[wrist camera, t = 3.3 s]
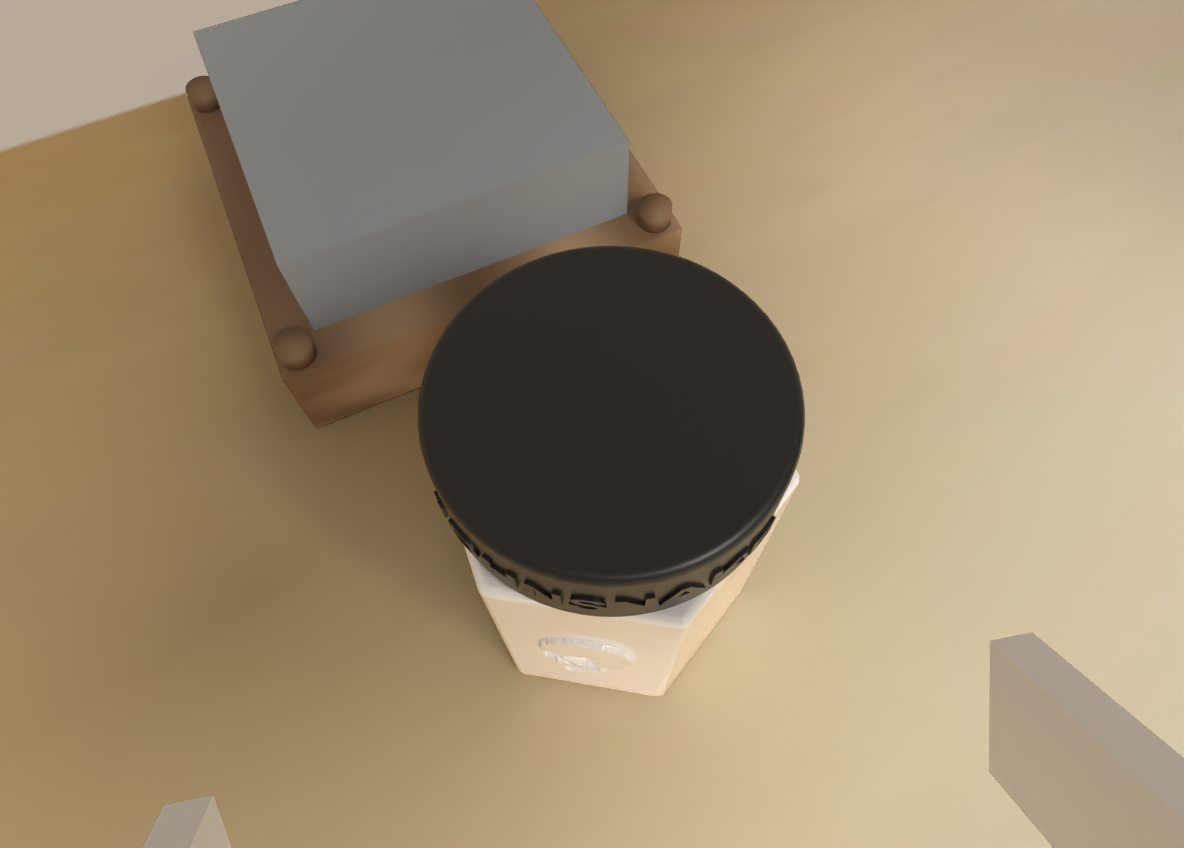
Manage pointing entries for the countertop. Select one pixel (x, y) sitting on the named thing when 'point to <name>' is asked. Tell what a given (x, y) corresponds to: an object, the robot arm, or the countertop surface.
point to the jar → (611, 456)
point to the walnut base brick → (396, 329)
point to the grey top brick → (410, 141)
